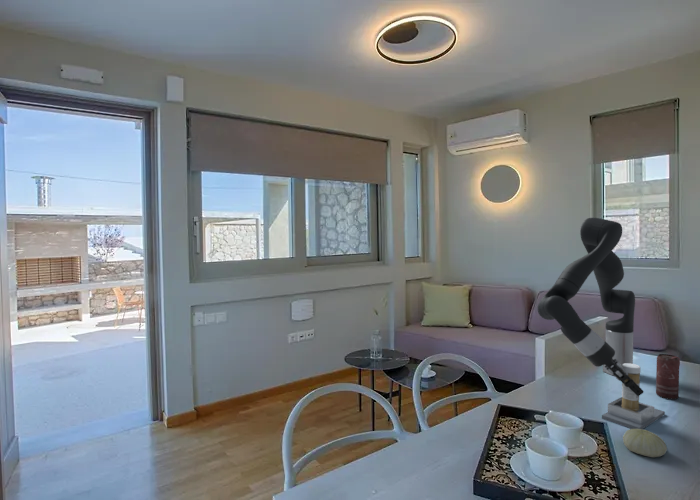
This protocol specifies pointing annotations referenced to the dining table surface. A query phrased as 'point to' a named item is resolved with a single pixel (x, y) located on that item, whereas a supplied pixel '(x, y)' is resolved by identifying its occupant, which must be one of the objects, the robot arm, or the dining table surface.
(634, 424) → the slate board
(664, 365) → the can
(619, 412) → the collar
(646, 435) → the sea urchin shell
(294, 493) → the dining table surface
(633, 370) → the sprinkles bottle
